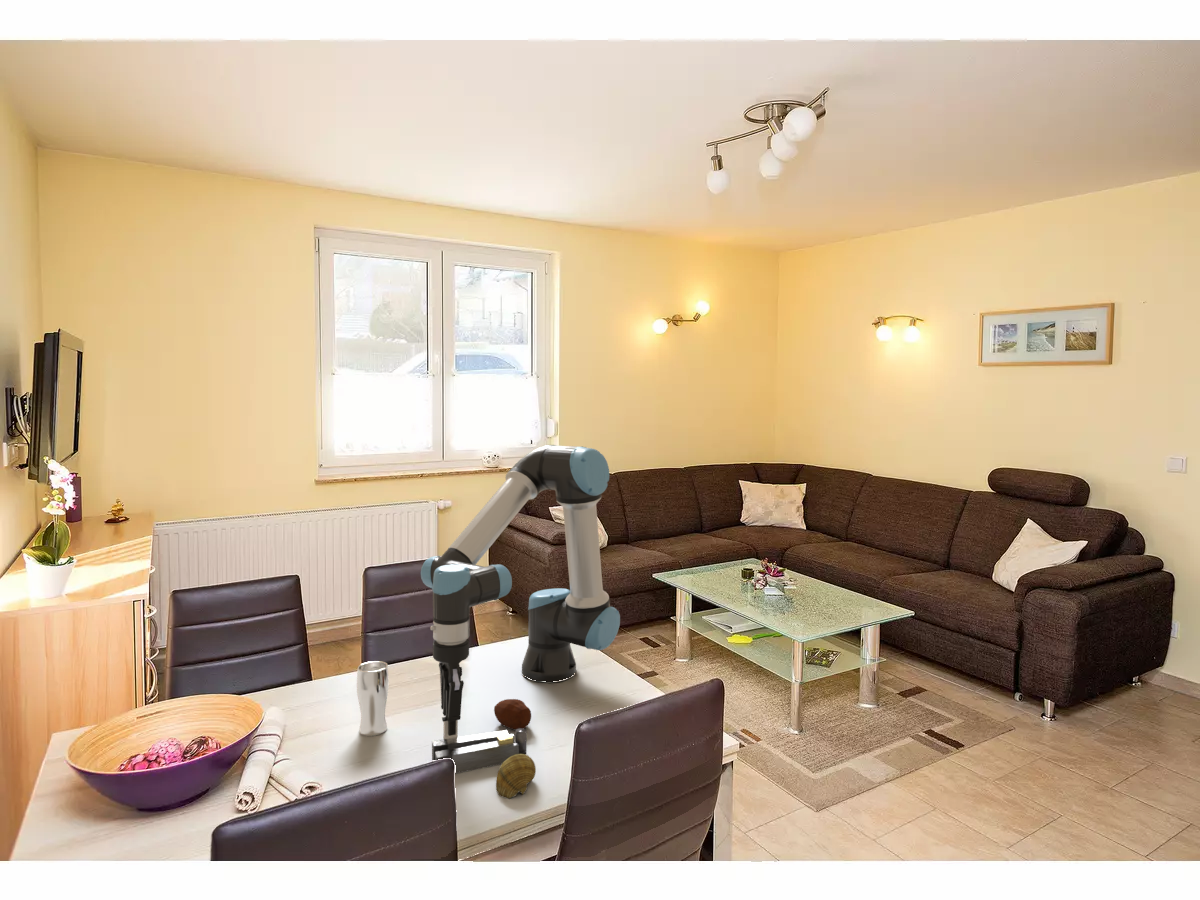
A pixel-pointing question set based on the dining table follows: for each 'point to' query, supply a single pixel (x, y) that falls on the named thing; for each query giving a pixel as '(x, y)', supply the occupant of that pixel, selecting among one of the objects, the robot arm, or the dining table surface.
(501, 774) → the seashell
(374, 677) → the beer glass
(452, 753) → the tongs base
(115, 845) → the dining table surface
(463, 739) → the tong jaw
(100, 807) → the dining table surface
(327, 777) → the dining table surface
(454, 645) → the robot arm
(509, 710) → the potato
